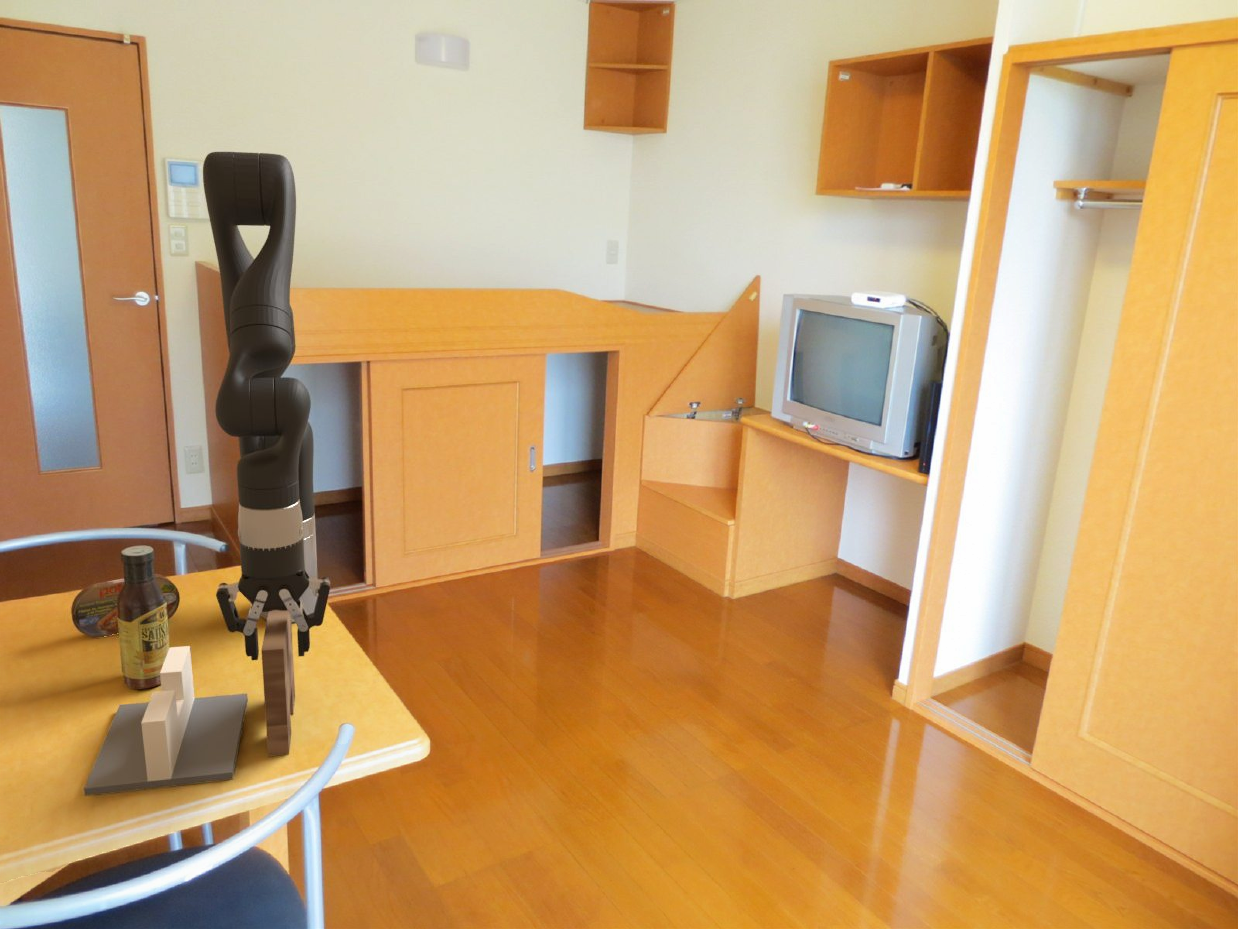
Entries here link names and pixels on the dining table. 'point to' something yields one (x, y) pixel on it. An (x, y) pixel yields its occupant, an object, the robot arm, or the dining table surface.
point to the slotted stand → (170, 736)
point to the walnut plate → (278, 681)
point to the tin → (111, 606)
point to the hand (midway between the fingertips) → (278, 655)
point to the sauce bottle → (141, 620)
